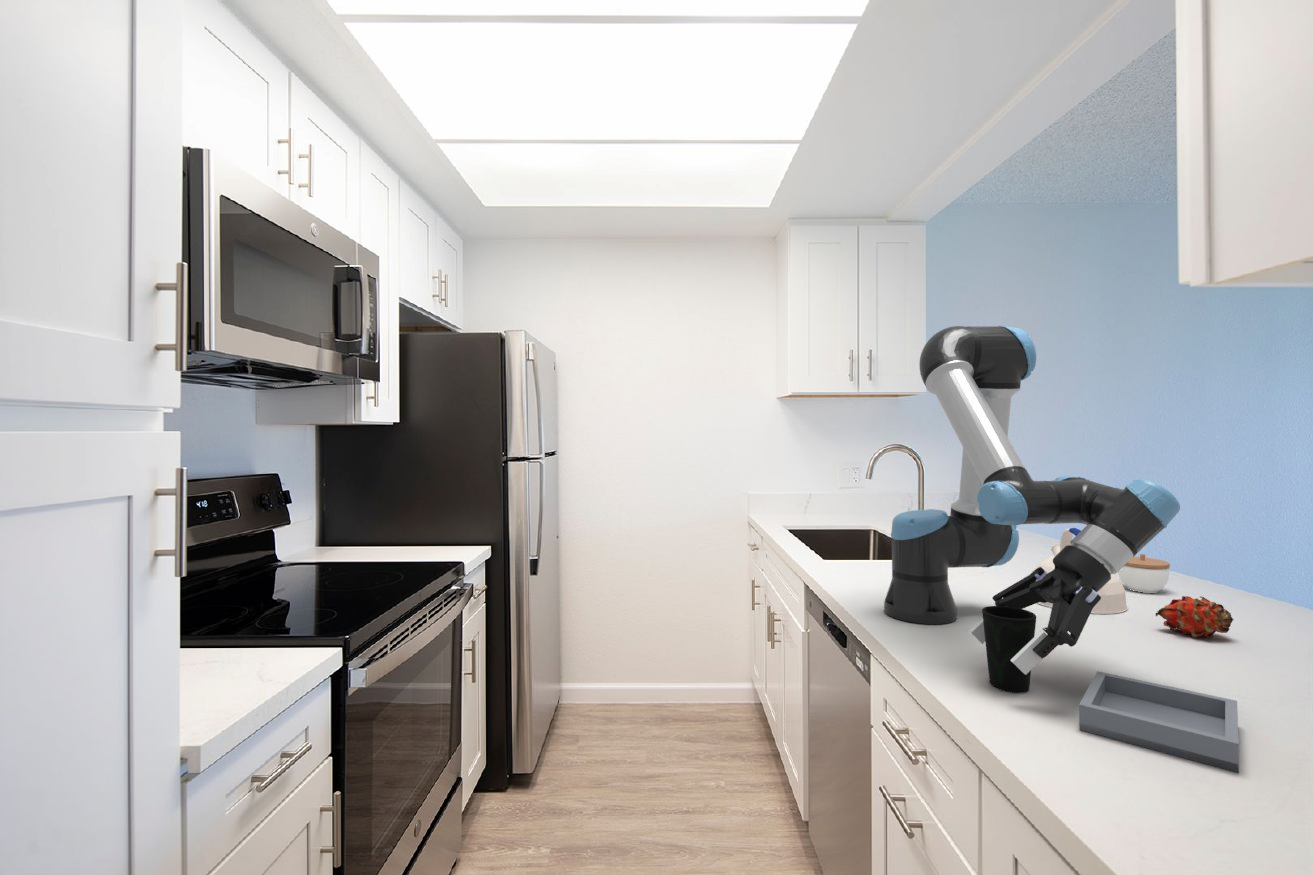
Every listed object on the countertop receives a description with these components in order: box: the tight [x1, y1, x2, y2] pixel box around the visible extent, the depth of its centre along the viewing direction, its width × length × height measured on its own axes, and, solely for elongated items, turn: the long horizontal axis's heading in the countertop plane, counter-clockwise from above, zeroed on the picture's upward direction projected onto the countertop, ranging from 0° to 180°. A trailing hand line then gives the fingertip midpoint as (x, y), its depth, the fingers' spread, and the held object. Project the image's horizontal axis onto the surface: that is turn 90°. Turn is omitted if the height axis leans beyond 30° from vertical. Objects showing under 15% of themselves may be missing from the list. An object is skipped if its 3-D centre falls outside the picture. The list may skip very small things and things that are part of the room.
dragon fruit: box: [1155, 595, 1235, 639], centre depth 123 cm, size 8×8×12 cm
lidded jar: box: [1117, 553, 1171, 594], centre depth 158 cm, size 11×11×9 cm
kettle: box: [1032, 527, 1129, 615], centre depth 147 cm, size 20×21×18 cm
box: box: [1078, 670, 1240, 773], centre depth 85 cm, size 16×16×4 cm
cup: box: [981, 605, 1037, 694], centre depth 99 cm, size 8×8×12 cm
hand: (995, 651), depth 99 cm, fingers open, 13 cm apart
